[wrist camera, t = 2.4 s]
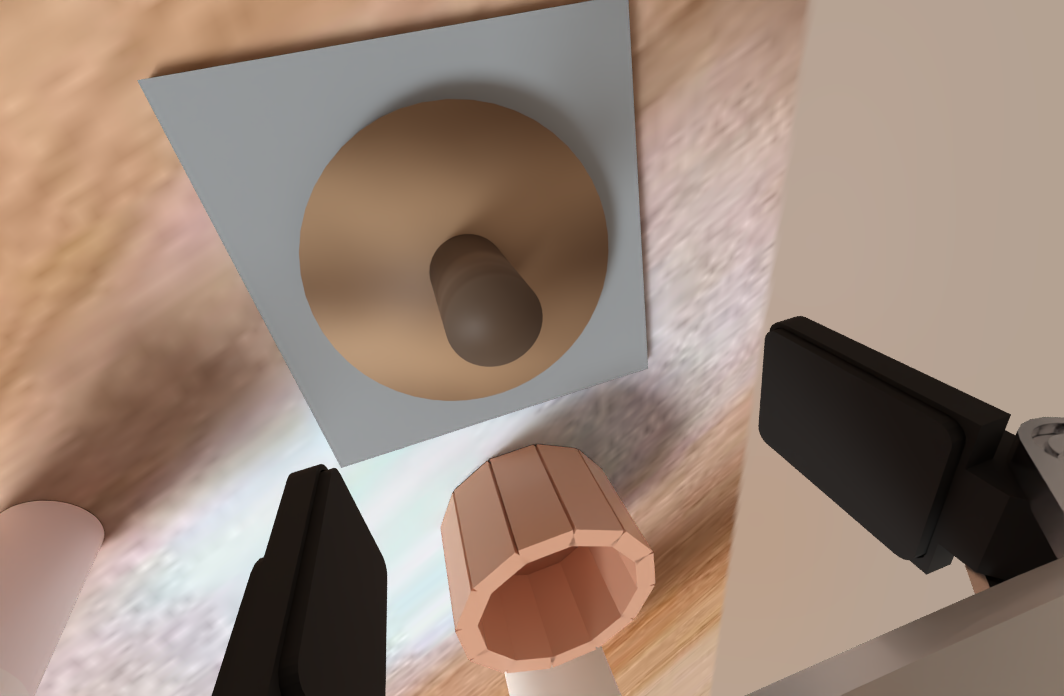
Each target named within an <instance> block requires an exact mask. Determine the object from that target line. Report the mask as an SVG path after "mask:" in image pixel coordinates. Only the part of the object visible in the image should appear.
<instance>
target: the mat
mask: <svg viewBox="0 0 1064 696" xmlns="http://www.w3.org/2000/svg"><path fill="white" fill-rule="evenodd" d="M137 81H138V83H139V84H140V86H141V88H142V90H143V92H144V94H145V96H146V98H147V100H148V102H149V103H150V105H151V107H152V109H153V111H154V113H155V115H156V117H157V119H158V121H159V122H160V124H161V126H162V128H163V130H164V132H165V134H166V136H167V138H168V140H169V141H170V143H171V145H172V147H173V149H174V151H175V153H176V155H177V157H178V159H179V160H180V162H181V164H182V166H183V168H184V170H185V172H186V174H187V176H188V178H189V179H190V181H191V183H192V185H193V187H194V189H195V191H196V193H197V195H198V197H199V198H200V200H201V202H202V204H203V206H204V208H205V210H206V212H207V214H208V216H209V217H210V219H211V221H212V223H213V225H214V227H215V229H216V231H217V233H218V235H219V236H220V238H221V240H222V242H223V244H224V246H225V248H226V250H227V252H228V254H229V256H230V257H231V259H232V261H233V263H234V265H235V267H236V269H237V271H238V273H239V275H240V276H241V278H242V280H243V282H244V284H245V286H246V288H247V290H248V292H249V294H250V295H251V297H252V299H253V301H254V303H255V305H256V307H257V309H258V311H259V313H260V314H261V316H262V318H263V320H264V322H265V324H266V326H267V328H268V330H269V332H270V333H271V335H272V337H273V339H274V341H275V343H276V345H277V347H278V349H279V351H280V352H281V354H282V356H283V358H284V360H285V362H286V364H287V366H288V368H289V370H290V371H291V373H292V375H293V377H294V379H295V381H296V383H297V385H298V387H299V389H300V390H301V392H302V394H303V396H304V398H305V400H306V402H307V404H308V406H309V408H310V409H311V411H312V413H313V415H314V417H315V419H316V421H317V423H318V425H319V427H320V428H321V430H322V432H323V434H324V436H325V438H326V440H327V442H328V444H329V446H330V447H331V449H332V451H333V453H334V455H335V457H336V459H337V461H338V463H339V465H340V466H341V468H342V467H345V466H349V465H352V464H355V463H358V462H361V461H364V460H367V459H370V458H373V457H376V456H379V455H382V454H386V453H389V452H392V451H395V450H398V449H401V448H404V447H407V446H410V445H413V444H416V443H419V442H423V441H426V440H429V439H432V438H435V437H438V436H441V435H444V434H447V433H450V432H453V431H456V430H460V429H463V428H466V427H469V426H472V425H475V424H478V423H481V422H484V421H487V420H490V419H494V418H497V417H500V416H503V415H506V414H509V413H512V412H515V411H518V410H521V409H524V408H527V407H531V406H534V405H537V404H540V403H543V402H546V401H549V400H552V399H555V398H558V397H561V396H564V395H568V394H571V393H574V392H577V391H580V390H583V389H586V388H589V387H592V386H595V385H598V384H601V383H605V382H608V381H611V380H614V379H617V378H620V377H623V376H626V375H629V374H632V373H635V372H638V371H642V370H645V369H648V358H647V339H646V321H645V302H644V283H643V265H642V246H641V227H640V208H639V190H638V171H637V152H636V133H635V115H634V96H633V77H632V59H631V40H630V21H629V2H628V0H592V1H587V2H581V3H575V4H569V5H564V6H558V7H552V8H547V9H541V10H535V11H530V12H524V13H518V14H512V15H507V16H501V17H495V18H490V19H484V20H478V21H473V22H467V23H461V24H456V25H450V26H444V27H438V28H433V29H427V30H421V31H416V32H410V33H404V34H399V35H393V36H387V37H381V38H376V39H370V40H364V41H359V42H353V43H347V44H342V45H336V46H330V47H325V48H319V49H313V50H307V51H302V52H296V53H290V54H285V55H279V56H273V57H268V58H262V59H256V60H251V61H245V62H239V63H233V64H228V65H222V66H216V67H211V68H205V69H199V70H194V71H188V72H182V73H176V74H171V75H165V76H159V77H154V78H148V79H142V80H137ZM443 99H468V100H476V101H482V102H488V103H494V104H497V105H500V106H503V107H506V108H509V109H512V110H515V111H517V112H519V113H521V114H523V115H525V116H527V117H529V118H532V119H534V120H535V121H537V122H538V123H540V124H541V125H543V126H544V127H546V128H547V129H548V130H550V131H551V132H553V133H554V134H555V135H556V136H557V137H558V138H559V139H560V140H562V141H563V142H564V143H565V144H566V145H567V146H568V147H569V148H570V149H571V151H572V152H573V153H574V154H575V156H576V157H577V158H578V159H579V160H580V162H581V163H582V165H583V166H584V168H585V169H586V171H587V173H588V174H589V176H590V178H591V179H592V181H593V184H594V186H595V188H596V190H597V193H598V195H599V197H600V200H601V204H602V207H603V211H604V214H605V219H606V225H607V231H608V263H607V272H606V277H605V281H604V286H603V289H602V292H601V295H600V298H599V301H598V304H597V306H596V308H595V310H594V312H593V315H592V317H591V319H590V321H589V322H588V324H587V325H586V327H585V329H584V330H583V332H582V333H581V335H580V336H579V337H578V339H577V340H576V341H575V342H574V344H573V345H572V346H571V348H570V349H569V350H568V351H567V352H566V353H565V354H564V355H563V356H562V357H561V358H560V359H559V360H558V361H556V362H555V363H554V364H553V365H551V366H550V367H549V368H548V369H547V370H545V371H544V372H542V373H541V374H539V375H538V376H536V377H535V378H533V379H531V380H530V381H528V382H526V383H524V384H522V385H520V386H518V387H516V388H513V389H510V390H508V391H505V392H503V393H500V394H496V395H492V396H488V397H485V398H479V399H472V400H462V401H442V400H430V399H425V398H419V397H414V396H411V395H407V394H404V393H401V392H398V391H395V390H393V389H391V388H388V387H386V386H384V385H382V384H379V383H378V382H376V381H374V380H373V379H371V378H369V377H368V376H366V375H364V374H363V373H362V372H360V371H359V370H358V369H356V368H355V367H354V366H353V365H351V364H350V363H349V362H348V361H347V360H346V359H345V358H344V357H343V356H342V355H341V354H340V353H339V352H338V351H337V350H336V349H335V348H334V347H333V345H332V344H331V343H330V341H329V340H328V339H327V337H326V336H325V335H324V333H323V332H322V330H321V328H320V327H319V325H318V323H317V321H316V319H315V318H314V316H313V314H312V311H311V309H310V306H309V303H308V301H307V298H306V296H305V292H304V287H303V283H302V279H301V274H300V261H299V244H300V230H301V226H302V221H303V217H304V213H305V208H306V206H307V203H308V201H309V198H310V196H311V193H312V190H313V188H314V186H315V184H316V182H317V181H318V179H319V177H320V176H321V174H322V172H323V170H324V169H325V167H326V166H327V165H328V163H329V162H330V161H331V160H332V158H333V157H334V156H335V155H336V153H337V152H338V151H339V150H340V148H341V147H342V146H343V145H344V144H346V143H347V142H348V141H349V140H350V139H351V138H352V137H353V136H354V135H355V134H357V133H358V132H359V131H360V130H361V129H363V128H365V127H366V126H368V125H369V124H371V123H372V122H374V121H375V120H377V119H378V118H380V117H382V116H384V115H387V114H389V113H391V112H393V111H395V110H398V109H400V108H403V107H407V106H410V105H414V104H417V103H421V102H428V101H436V100H443Z"/></svg>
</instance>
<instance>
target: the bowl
mask: <svg viewBox="0 0 1064 696" xmlns="http://www.w3.org/2000/svg"><path fill="white" fill-rule="evenodd" d="M490 461H491V463H489V462H488V461H487V462H485V463H484V464H483V465H482V466H481V467H480V468H479V469H478V470H476V471H475V472H474V473H473V474H472V475H471V476H470V477H469V478H468V479H466V480H465V481H464V482H463V483H462V484H461V485H460V486H459V487H457V488H456V489H455V490H454V493H452V495H451V498H450V501H449V504H448V507H447V510H446V513H445V516H444V519H443V522H442V525H441V535H442V542H443V549H444V556H445V562H446V569H447V576H448V583H449V590H450V597H451V604H452V611H453V618H454V625H455V632H456V634H457V636H458V638H459V640H460V643H461V645H462V647H463V649H464V651H465V653H466V655H467V658H468V660H470V661H471V662H474V663H477V664H479V665H482V666H485V667H488V668H491V669H494V670H497V671H499V672H502V673H505V672H507V673H515V672H524V671H533V670H542V669H550V668H551V666H553V668H554V667H556V666H559V665H561V664H563V663H566V662H568V661H570V660H573V659H575V658H577V657H580V656H582V655H584V654H587V653H589V652H591V651H594V650H596V647H598V648H599V647H600V646H602V645H603V644H604V643H605V642H607V641H608V640H609V639H610V638H612V637H613V636H614V635H615V634H617V633H618V632H619V631H620V630H622V629H623V628H624V627H625V626H627V625H628V624H629V623H630V622H632V621H633V618H636V616H637V614H638V613H639V611H640V609H641V608H642V606H643V604H644V603H645V601H646V599H647V598H648V596H649V594H650V593H651V591H652V589H653V588H654V586H655V585H654V584H655V569H654V553H653V551H652V550H651V548H650V546H649V545H648V543H647V541H646V540H645V538H644V537H643V535H642V533H641V532H640V530H639V528H638V527H637V525H636V524H635V522H634V520H633V519H632V517H631V515H630V514H629V512H628V511H627V509H626V507H625V506H624V504H623V502H622V501H621V499H620V498H619V496H618V494H617V493H616V491H615V489H614V488H613V486H612V485H611V483H610V481H609V480H608V478H607V476H606V475H605V473H604V472H603V470H602V469H601V468H600V467H599V466H598V465H597V464H595V463H594V462H593V461H592V460H591V459H589V458H588V457H587V456H586V455H585V454H583V453H582V452H581V451H580V450H579V449H578V450H577V449H576V448H568V447H559V446H549V445H540V444H537V445H536V447H535V446H534V445H531V446H528V447H525V448H522V449H519V450H516V451H513V452H510V453H507V454H504V455H501V456H498V457H495V458H492V459H490ZM595 646H596V647H595Z"/></svg>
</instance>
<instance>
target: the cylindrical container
mask: <svg viewBox="0 0 1064 696" xmlns="http://www.w3.org/2000/svg"><path fill="white" fill-rule="evenodd" d="M595 647H596V646H595ZM505 677H506V681H507V686H508V690H509V695H510V696H622V695H621V693H620V691H619V688H618V686H617V683H616V681H615V678H614V676H613V674H612V671H611V669H610V666H609V664H608V661H607V659H606V657H605V654H604V652H603V649H602V647H601V646H600V647H599V648H598V647H596V650H594V651H591V652H589V653H587V654H584V655H582V656H580V657H577V658H575V659H573V660H570V661H568V662H566V663H563V664H561V665H559V666H556V667H554V668H553V666H551V668H550V669H542V670H533V671H524V672H515V673H507V672H505Z"/></svg>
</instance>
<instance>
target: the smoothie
mask: <svg viewBox="0 0 1064 696" xmlns="http://www.w3.org/2000/svg"><path fill="white" fill-rule="evenodd" d="M103 540H104V529H103V526H102V524H101V523H100V521H99V520H98V519H97V518H96V517H95V516H94V515H92V514H91V513H90V512H88V511H86V510H84V509H82V508H80V507H78V506H75V505H72V504H68V503H63V502H57V501H32V502H26V503H22V504H18V505H15V506H12V507H10V508H8V509H6V510H5V511H3V512H2V513H0V696H35V693H36V691H37V689H38V687H39V684H40V682H41V680H42V677H43V675H44V673H45V671H46V668H47V666H48V664H49V662H50V659H51V657H52V655H53V653H54V650H55V648H56V646H57V644H58V641H59V639H60V637H61V635H62V632H63V630H64V628H65V626H66V623H67V621H68V619H69V617H70V614H71V612H72V610H73V608H74V605H75V603H76V601H77V599H78V596H79V594H80V592H81V590H82V587H83V585H84V583H85V581H86V578H87V576H88V574H89V572H90V569H91V567H92V565H93V563H94V560H95V558H96V556H97V554H98V551H99V549H100V547H101V545H102V542H103Z"/></svg>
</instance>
